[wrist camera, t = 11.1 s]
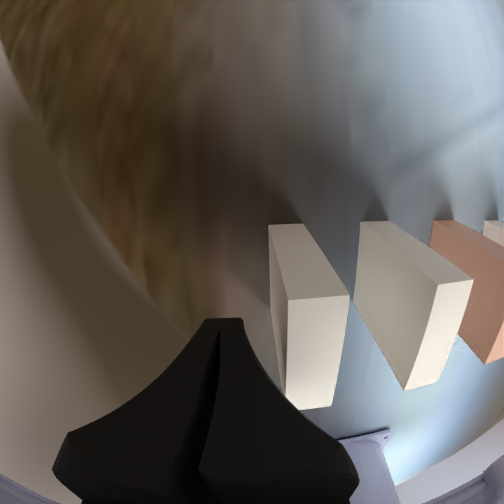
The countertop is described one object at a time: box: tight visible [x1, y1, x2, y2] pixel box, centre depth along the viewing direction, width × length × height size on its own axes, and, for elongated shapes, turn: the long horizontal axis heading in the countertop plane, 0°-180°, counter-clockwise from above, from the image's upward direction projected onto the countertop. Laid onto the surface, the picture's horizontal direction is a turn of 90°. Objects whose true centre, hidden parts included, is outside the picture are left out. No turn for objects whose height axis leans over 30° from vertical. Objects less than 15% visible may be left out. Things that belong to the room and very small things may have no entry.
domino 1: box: [268, 223, 350, 410], centre depth 12 cm, size 2×5×8 cm, turn 3°
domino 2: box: [353, 221, 474, 391], centre depth 12 cm, size 2×5×8 cm, turn 3°
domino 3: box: [429, 220, 504, 365], centre depth 12 cm, size 2×5×8 cm, turn 2°
